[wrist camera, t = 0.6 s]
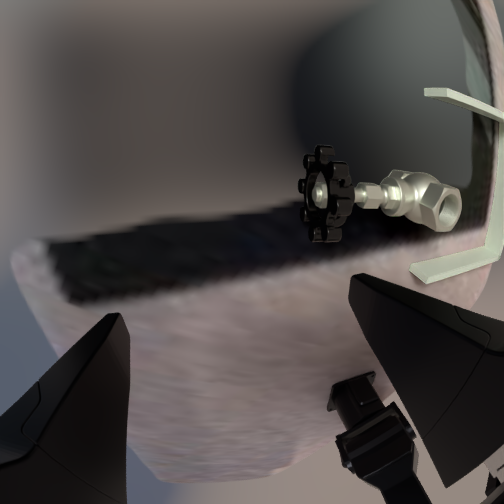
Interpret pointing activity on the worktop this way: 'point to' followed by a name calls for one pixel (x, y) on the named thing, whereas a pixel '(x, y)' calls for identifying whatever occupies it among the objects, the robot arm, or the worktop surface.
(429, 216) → the valve
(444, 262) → the u-shaped bracket
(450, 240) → the worktop surface
